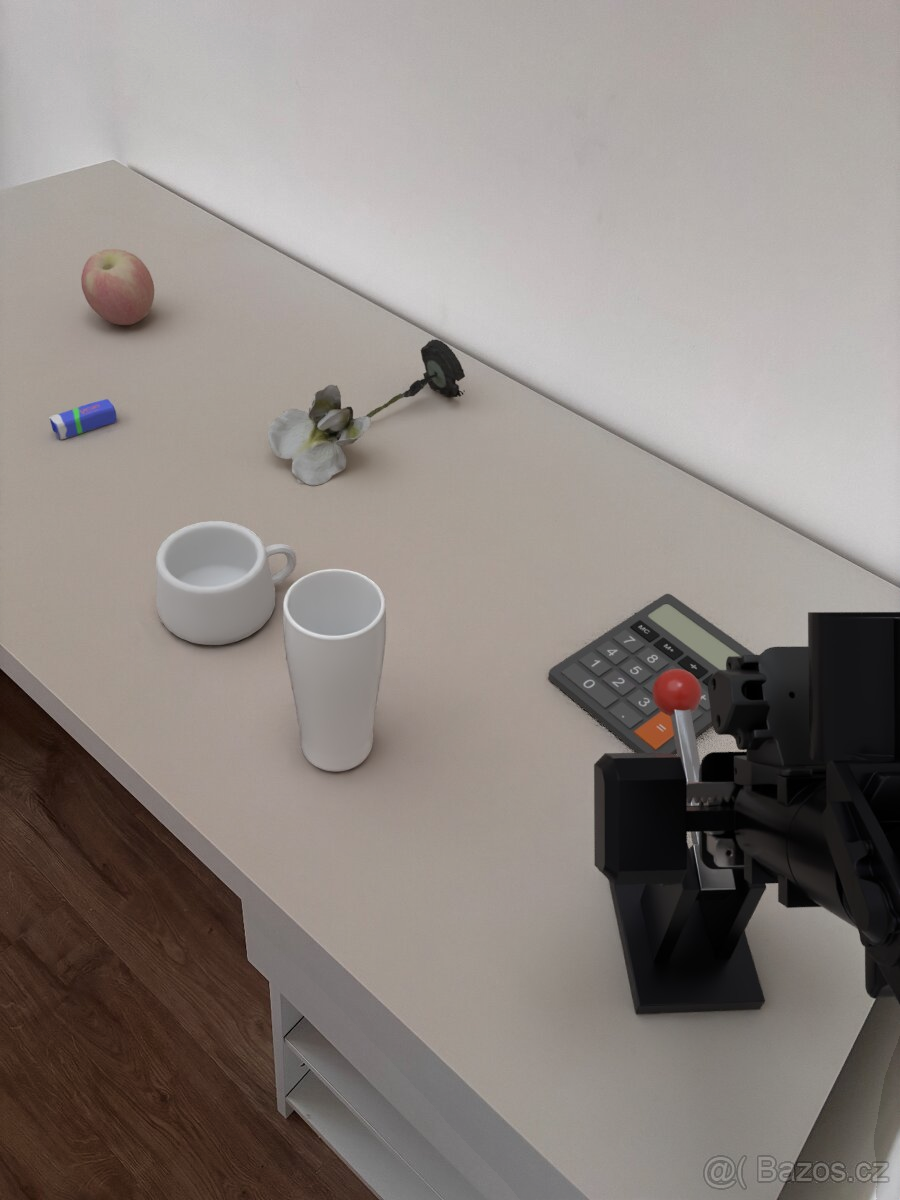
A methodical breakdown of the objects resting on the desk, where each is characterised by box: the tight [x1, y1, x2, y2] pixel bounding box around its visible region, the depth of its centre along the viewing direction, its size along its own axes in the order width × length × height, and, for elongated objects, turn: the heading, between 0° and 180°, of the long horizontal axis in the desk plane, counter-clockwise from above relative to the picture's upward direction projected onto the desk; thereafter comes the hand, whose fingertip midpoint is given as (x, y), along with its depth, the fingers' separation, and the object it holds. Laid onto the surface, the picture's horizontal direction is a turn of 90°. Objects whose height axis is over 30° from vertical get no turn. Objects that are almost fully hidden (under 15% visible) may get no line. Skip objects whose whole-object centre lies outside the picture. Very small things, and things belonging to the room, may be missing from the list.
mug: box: [155, 520, 297, 646], centre depth 87 cm, size 12×10×6 cm
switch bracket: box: [608, 842, 767, 1015], centre depth 66 cm, size 10×8×10 cm
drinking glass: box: [282, 568, 387, 772], centre depth 74 cm, size 7×7×15 cm
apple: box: [80, 248, 155, 326], centre depth 118 cm, size 8×8×8 cm
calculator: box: [547, 593, 756, 755], centre depth 86 cm, size 12×1×15 cm
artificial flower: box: [267, 339, 466, 487], centre depth 106 cm, size 9×22×10 cm, turn 131°
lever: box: [652, 669, 736, 901], centre depth 67 cm, size 15×3×3 cm, turn 4°
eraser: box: [49, 398, 117, 440], centre depth 105 cm, size 2×6×2 cm, turn 126°
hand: (723, 787), depth 61 cm, fingers closed
